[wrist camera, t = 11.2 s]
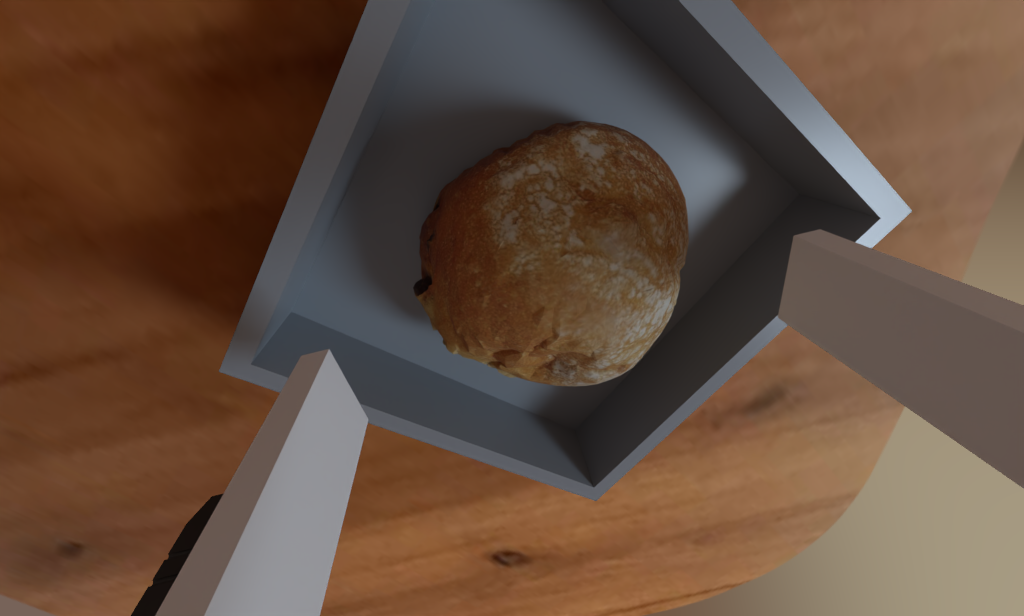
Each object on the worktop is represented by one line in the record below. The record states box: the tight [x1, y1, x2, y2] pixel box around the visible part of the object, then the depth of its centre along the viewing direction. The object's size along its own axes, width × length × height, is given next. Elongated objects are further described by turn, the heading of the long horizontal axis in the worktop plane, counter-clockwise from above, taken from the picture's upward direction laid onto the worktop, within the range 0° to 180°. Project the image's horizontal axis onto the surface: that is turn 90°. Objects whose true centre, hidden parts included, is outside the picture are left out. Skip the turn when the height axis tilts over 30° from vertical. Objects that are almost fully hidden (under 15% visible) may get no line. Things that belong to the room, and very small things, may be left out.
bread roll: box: [413, 121, 689, 386], centre depth 15 cm, size 10×10×8 cm
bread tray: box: [219, 0, 912, 501], centre depth 15 cm, size 18×18×4 cm
